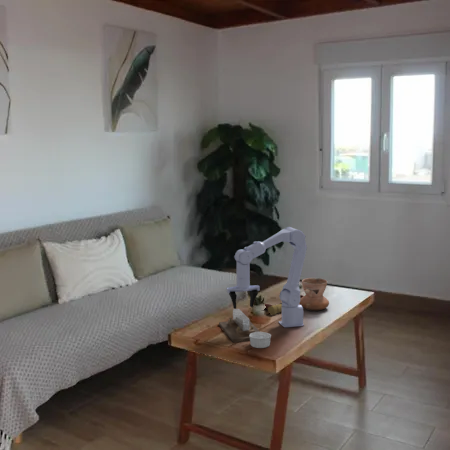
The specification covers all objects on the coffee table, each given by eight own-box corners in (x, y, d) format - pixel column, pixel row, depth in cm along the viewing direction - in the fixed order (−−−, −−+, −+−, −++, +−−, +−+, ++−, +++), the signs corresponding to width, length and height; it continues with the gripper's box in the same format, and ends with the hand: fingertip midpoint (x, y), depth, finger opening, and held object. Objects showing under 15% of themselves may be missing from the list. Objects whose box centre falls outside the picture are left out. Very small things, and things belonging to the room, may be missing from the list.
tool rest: (248, 322, 279) (248, 312, 278) (264, 339, 256) (264, 328, 255) (218, 324, 275) (218, 315, 275) (232, 342, 252) (232, 331, 252)
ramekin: (244, 345, 249) (244, 335, 248) (259, 340, 255) (259, 330, 255) (260, 350, 243) (260, 340, 242) (275, 345, 249) (275, 335, 248)
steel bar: (233, 320, 272) (233, 309, 272) (239, 319, 273) (239, 308, 272) (243, 331, 257) (243, 319, 256) (249, 330, 258) (249, 319, 257)
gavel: (243, 301, 303) (257, 297, 310) (243, 309, 304) (257, 305, 311) (274, 306, 288) (288, 302, 295) (275, 316, 289) (288, 311, 295)
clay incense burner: (319, 315, 289) (320, 286, 287) (292, 310, 297) (293, 282, 295) (335, 306, 304) (336, 278, 301) (309, 301, 312) (310, 274, 310)
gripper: (229, 280, 258) (229, 311, 260) (261, 278, 262) (261, 308, 264) (225, 276, 265) (225, 306, 267) (256, 274, 269) (256, 304, 271)
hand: (243, 307), depth 266 cm, fingers open, 7 cm apart
